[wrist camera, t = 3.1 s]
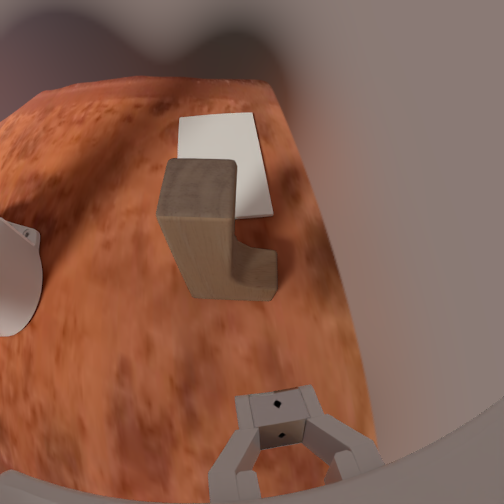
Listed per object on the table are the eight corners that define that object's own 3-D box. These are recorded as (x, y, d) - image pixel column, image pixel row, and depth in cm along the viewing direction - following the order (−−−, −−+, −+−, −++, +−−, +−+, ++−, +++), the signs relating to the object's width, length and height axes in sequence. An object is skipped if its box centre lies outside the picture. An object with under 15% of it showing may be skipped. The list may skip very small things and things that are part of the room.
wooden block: (271, 264, 34) (309, 162, 17) (271, 302, 32) (316, 224, 16) (194, 261, 33) (167, 155, 17) (191, 298, 32) (152, 216, 15)
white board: (272, 216, 37) (273, 213, 36) (177, 224, 35) (177, 222, 35) (251, 115, 44) (252, 112, 44) (179, 120, 43) (179, 117, 42)
